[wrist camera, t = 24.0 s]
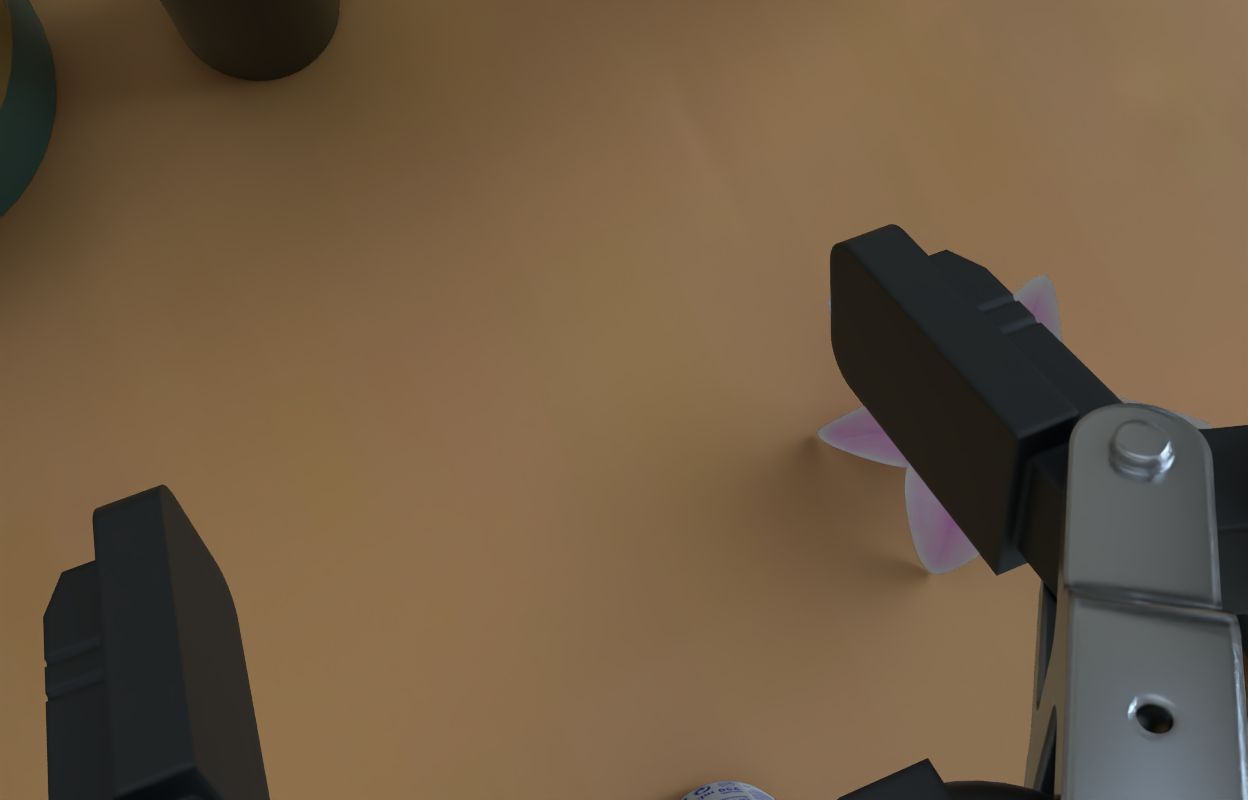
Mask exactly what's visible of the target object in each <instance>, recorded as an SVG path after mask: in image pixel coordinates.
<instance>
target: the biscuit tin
mask: <svg viewBox="0 0 1248 800" xmlns="http://www.w3.org/2000/svg"><path fill="white" fill-rule="evenodd" d="M55 102H56V83H55V71H54V64H53V60H52V56H51V51H50V47H49V43H48V41H47V38H46V35H45V33H44V30H43V27H42V25H41V22H40V20H39V18H38V17H37V15H36V13H35V11H34V9H33V7H32V5H31V4H30V2H29V0H0V218H1V217H2V216H3V215H4V213H5V212H6V211H7V210H8V209H9V208H10V207H11V206H12V205H13V204H14V203H15V202H16V201H17V200H18V198H19V197H20V195H21V194H22V193H23V191H24V190H25V188H26V187H27V186H28V184H29V183H30V181H31V180H32V178H33V176H34V174H35V172H36V170H37V168H38V167H39V165H40V163H41V161H42V159H43V156H44V153H45V150H46V147H47V145H48V142H49V139H50V135H51V131H52V126H53V121H54V116H55Z"/></svg>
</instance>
